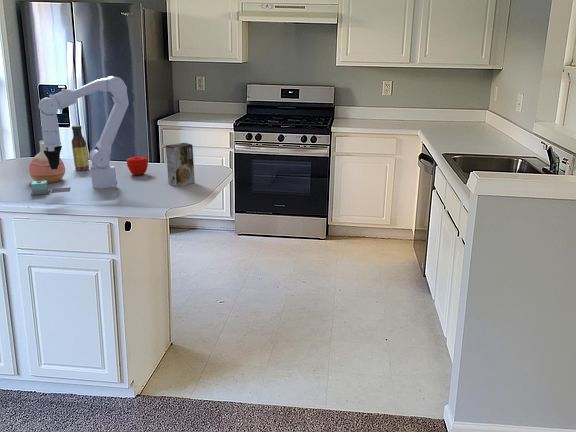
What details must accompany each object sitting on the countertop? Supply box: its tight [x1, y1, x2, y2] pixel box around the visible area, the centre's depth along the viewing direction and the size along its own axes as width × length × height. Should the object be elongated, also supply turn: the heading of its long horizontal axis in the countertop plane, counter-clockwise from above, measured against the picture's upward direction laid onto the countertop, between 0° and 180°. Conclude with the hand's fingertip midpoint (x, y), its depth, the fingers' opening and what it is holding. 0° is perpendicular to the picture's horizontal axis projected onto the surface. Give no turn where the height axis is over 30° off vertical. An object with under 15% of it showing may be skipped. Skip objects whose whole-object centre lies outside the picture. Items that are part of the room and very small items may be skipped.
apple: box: [126, 156, 149, 176], centre depth 246 cm, size 9×9×8 cm
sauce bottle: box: [71, 125, 90, 172], centre depth 255 cm, size 7×6×20 cm
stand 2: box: [50, 187, 71, 194], centre depth 216 cm, size 7×7×1 cm
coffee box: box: [165, 142, 196, 187], centre depth 229 cm, size 9×6×16 cm
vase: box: [28, 139, 66, 184], centre depth 229 cm, size 14×14×18 cm
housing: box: [30, 180, 49, 196], centre depth 211 cm, size 5×5×4 cm
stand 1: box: [30, 190, 52, 197], centre depth 212 cm, size 7×7×1 cm
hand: (55, 167), depth 212 cm, fingers open, 7 cm apart
